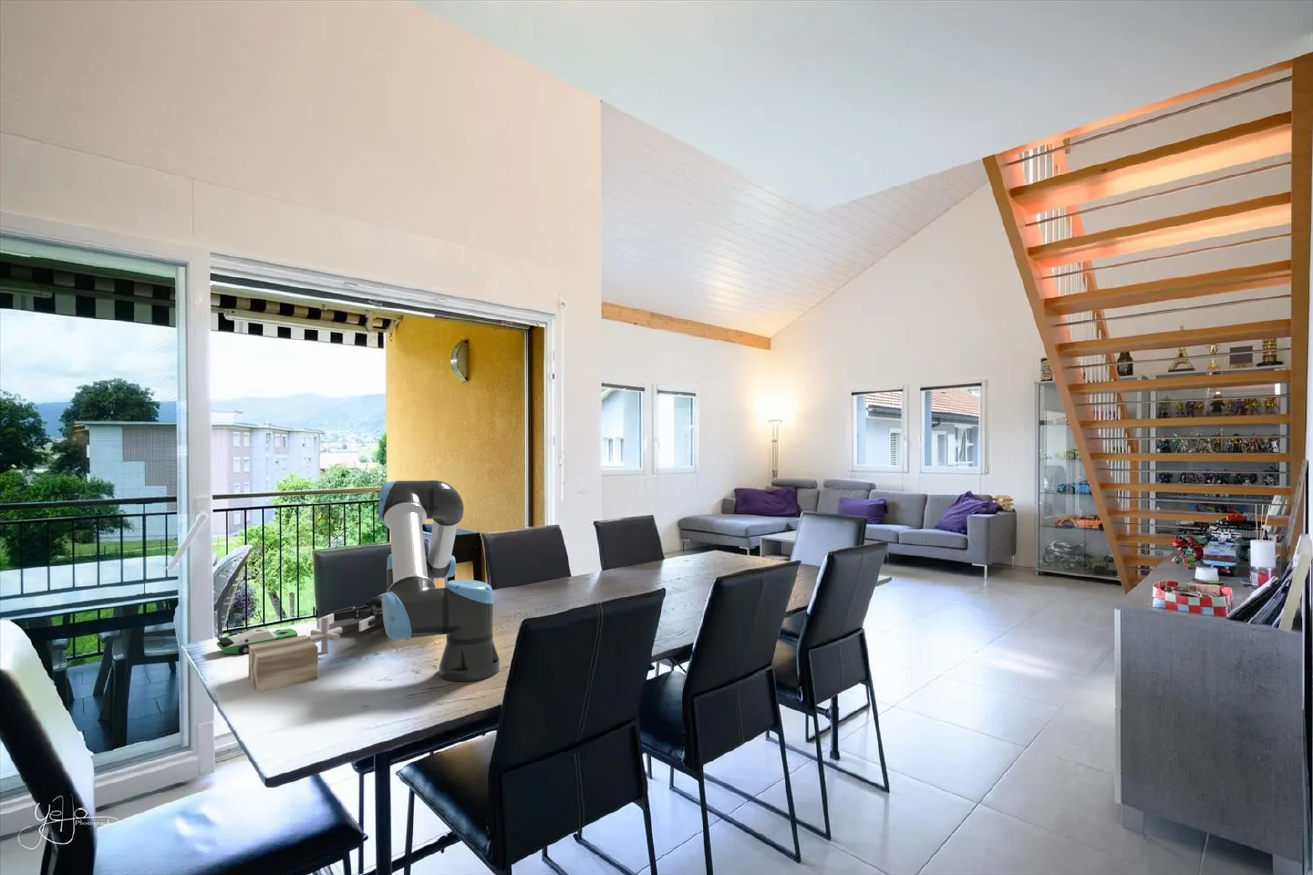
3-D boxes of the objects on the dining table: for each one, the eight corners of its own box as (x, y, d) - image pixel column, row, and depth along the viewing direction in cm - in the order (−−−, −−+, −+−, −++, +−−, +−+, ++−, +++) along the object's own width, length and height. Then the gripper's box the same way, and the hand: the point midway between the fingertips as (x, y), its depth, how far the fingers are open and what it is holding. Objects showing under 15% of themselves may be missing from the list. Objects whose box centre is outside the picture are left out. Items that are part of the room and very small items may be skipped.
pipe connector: (296, 655, 179) (296, 619, 179) (328, 645, 188) (328, 610, 188) (321, 660, 175) (321, 623, 175) (352, 649, 184) (352, 614, 184)
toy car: (301, 644, 190) (301, 627, 190) (223, 660, 176) (224, 641, 176) (290, 636, 197) (290, 620, 197) (215, 651, 184) (215, 633, 184)
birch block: (317, 678, 162) (317, 646, 162) (257, 691, 154) (257, 658, 154) (305, 664, 172) (305, 634, 172) (248, 676, 163) (248, 644, 163)
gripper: (417, 620, 207) (377, 640, 186) (347, 616, 211) (300, 635, 190) (417, 596, 207) (378, 614, 186) (347, 593, 211) (301, 610, 191)
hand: (338, 625), depth 188 cm, fingers open, 13 cm apart
